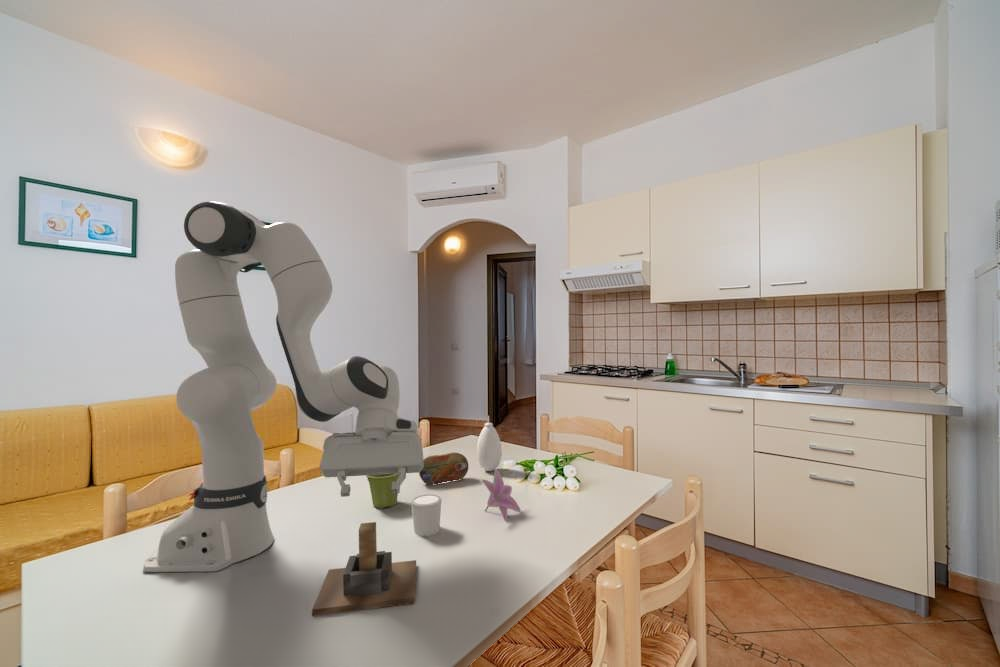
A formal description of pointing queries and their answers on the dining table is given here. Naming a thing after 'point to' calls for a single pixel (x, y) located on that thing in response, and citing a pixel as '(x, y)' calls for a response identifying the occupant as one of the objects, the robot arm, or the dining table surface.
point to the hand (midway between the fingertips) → (370, 493)
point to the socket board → (367, 586)
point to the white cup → (426, 514)
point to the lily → (500, 495)
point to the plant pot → (382, 489)
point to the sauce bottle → (489, 448)
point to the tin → (444, 468)
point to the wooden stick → (367, 546)
